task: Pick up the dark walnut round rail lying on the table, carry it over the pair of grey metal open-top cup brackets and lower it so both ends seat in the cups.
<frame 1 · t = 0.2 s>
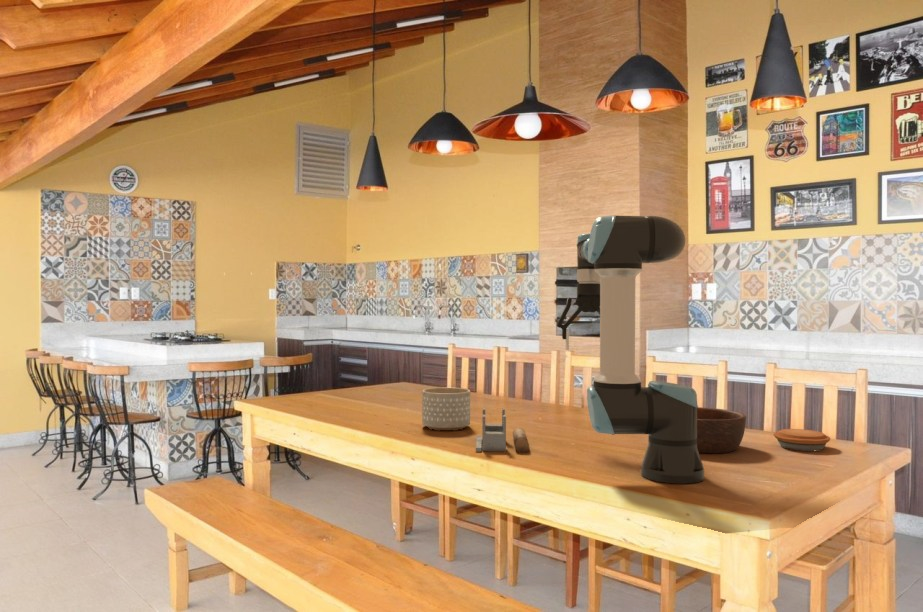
hand: (588, 350, 228), 28 cm above the table, fingers open, 13 cm apart
wooden bowl: (701, 448, 216), on the table
bracket: (493, 445, 217), on the table
pie: (801, 448, 216), on the table
planter: (446, 427, 248), on the table
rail: (520, 446, 217), on the table
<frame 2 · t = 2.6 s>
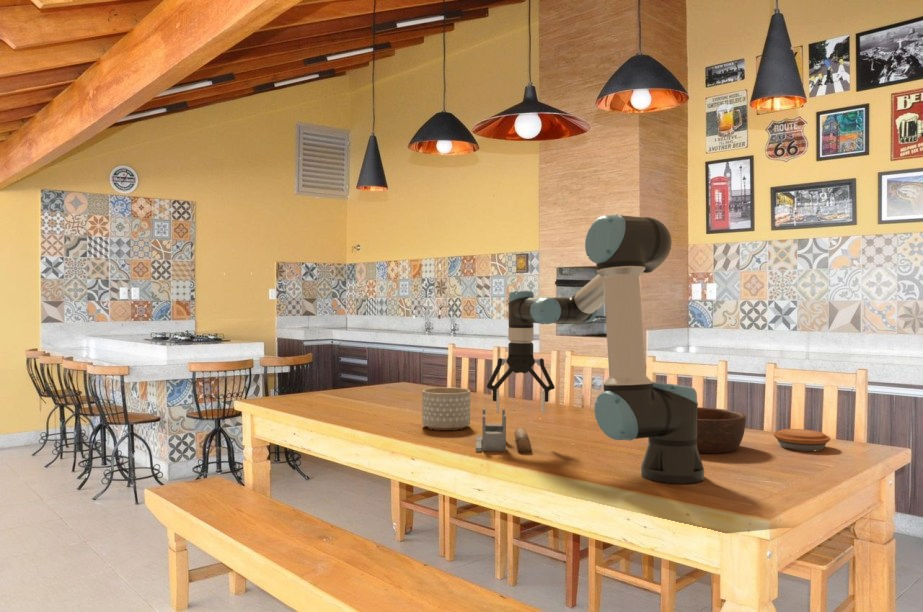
hand: (520, 412, 217), 10 cm above the table, fingers open, 13 cm apart
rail: (520, 446, 217), on the table, tilted 17°
everything else where it was.
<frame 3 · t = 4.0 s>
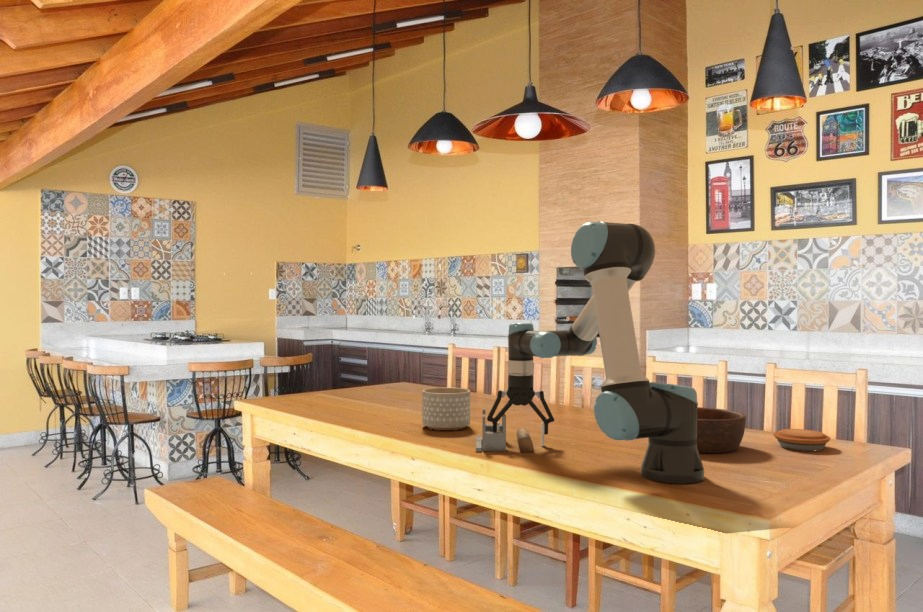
hand: (520, 445, 217), 0 cm above the table, fingers open, 13 cm apart
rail: (520, 445, 217), on the table, tilted 36°
everything else where it was.
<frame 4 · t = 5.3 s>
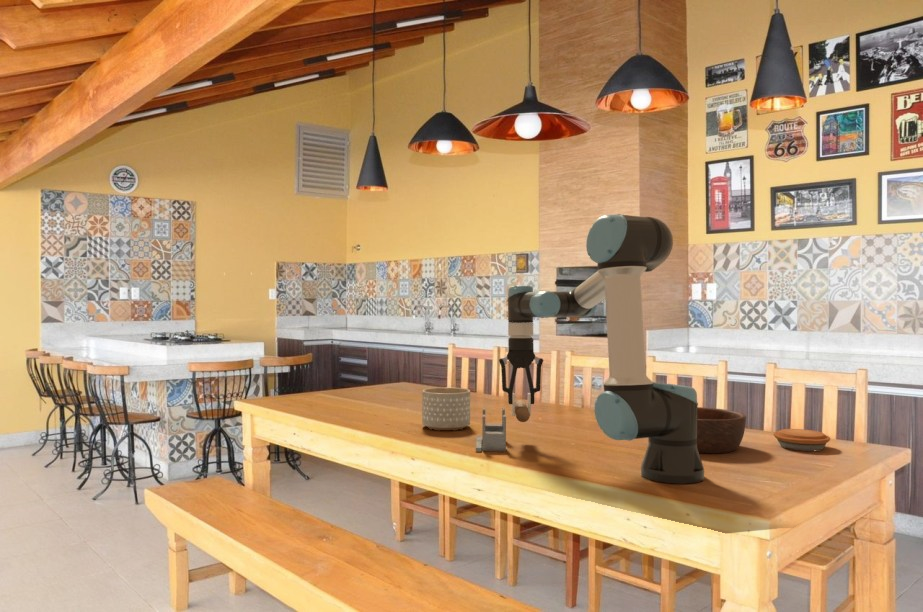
hand: (521, 415, 216), 9 cm above the table, fingers closed on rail, 4 cm apart
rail: (518, 416, 216), point 9 cm above the table, tilted 29°, touching gripper
everything else where it was.
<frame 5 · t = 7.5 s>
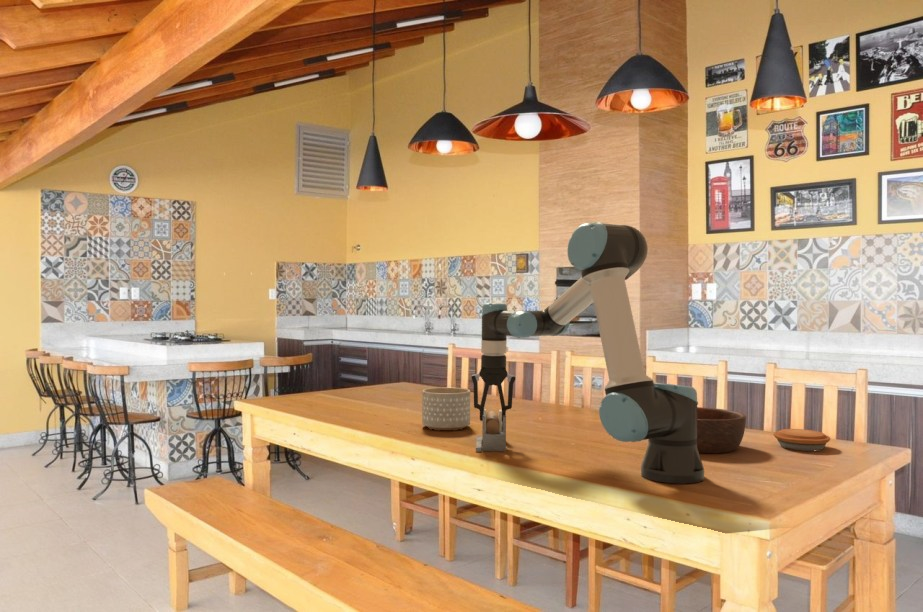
hand: (492, 431, 217), 4 cm above the table, fingers closed on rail, 4 cm apart
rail: (490, 428, 217), point 5 cm above the table, tilted 18°, touching bracket, gripper
everything else where it was.
when the fingers open (4 cm above the table, at t = 7.7 s): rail stays where it is and tips over, resting on bracket.
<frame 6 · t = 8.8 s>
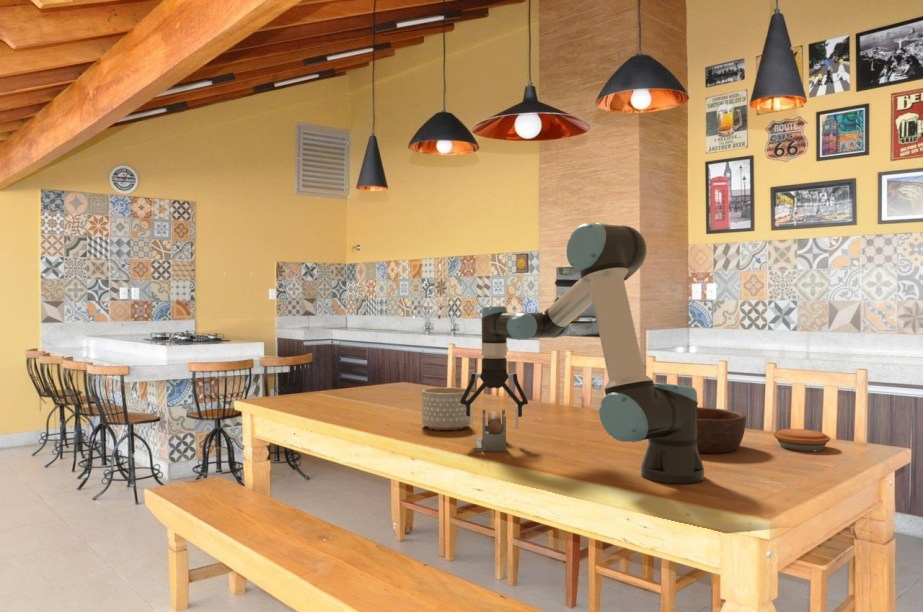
hand: (494, 427, 217), 5 cm above the table, fingers open, 13 cm apart
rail: (490, 427, 217), point 5 cm above the table, tilted 35°, touching bracket
everything else where it was.
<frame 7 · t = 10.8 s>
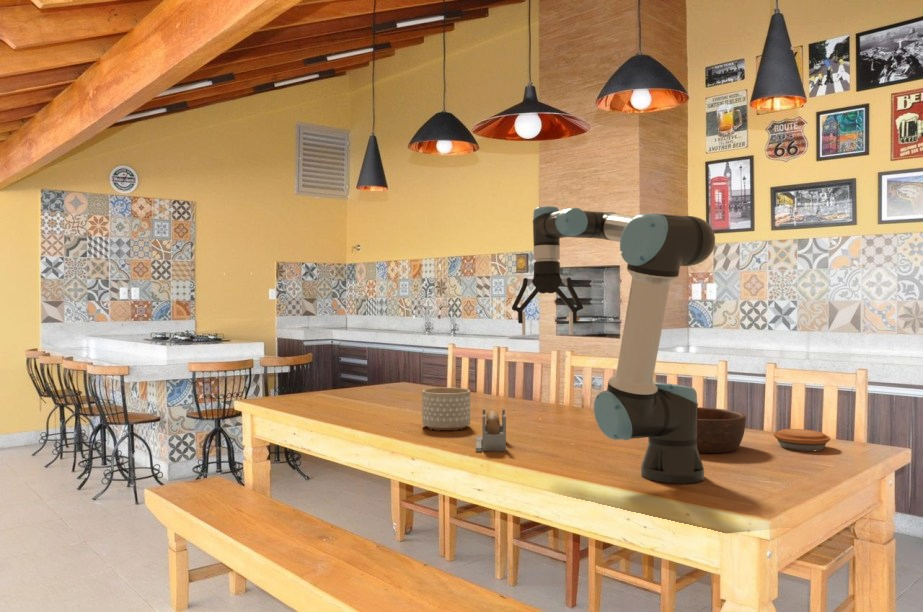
hand: (547, 335, 207), 34 cm above the table, fingers open, 13 cm apart
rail: (490, 428, 217), point 5 cm above the table, tilted 21°, touching bracket
everything else where it was.
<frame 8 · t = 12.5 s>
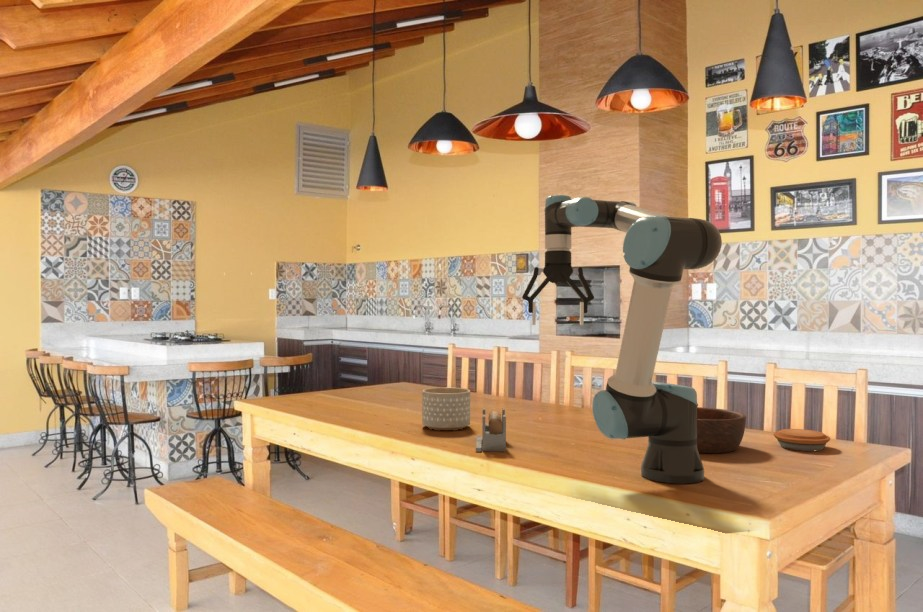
hand: (557, 324, 206), 37 cm above the table, fingers open, 13 cm apart
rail: (490, 427, 217), point 5 cm above the table, tilted 41°, touching bracket
everything else where it was.
at the end: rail 0.9 cm off-centre on the bracket, point 5.5 cm above the bracket's base; the gripper is holding nothing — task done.
